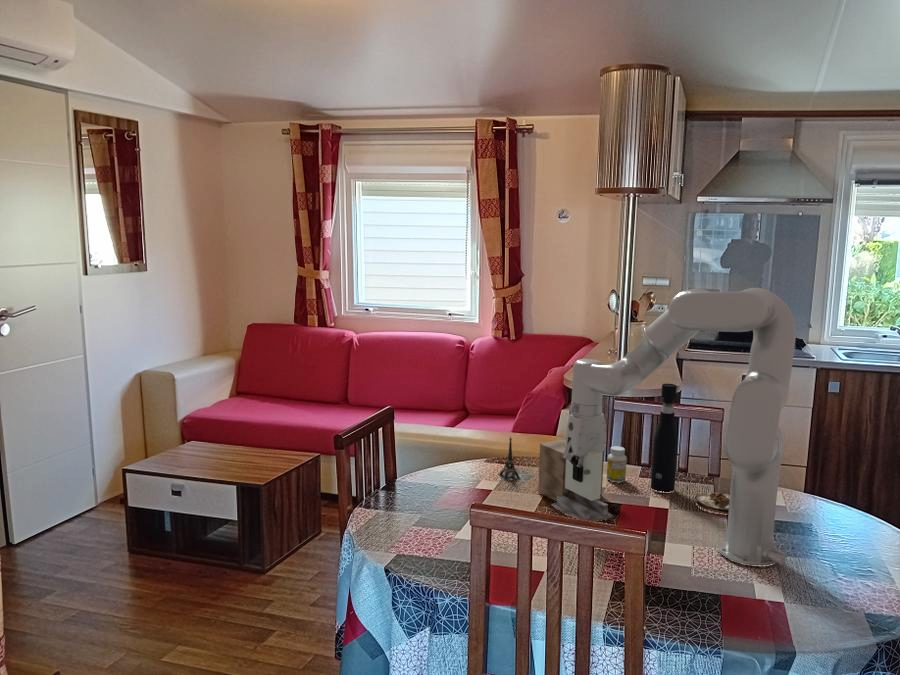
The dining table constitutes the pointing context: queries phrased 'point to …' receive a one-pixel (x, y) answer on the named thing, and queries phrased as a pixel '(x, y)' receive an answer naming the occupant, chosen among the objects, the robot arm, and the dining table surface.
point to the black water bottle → (665, 444)
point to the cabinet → (554, 485)
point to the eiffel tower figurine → (513, 470)
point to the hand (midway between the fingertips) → (583, 478)
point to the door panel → (586, 476)
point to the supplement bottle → (616, 464)
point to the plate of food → (714, 502)
